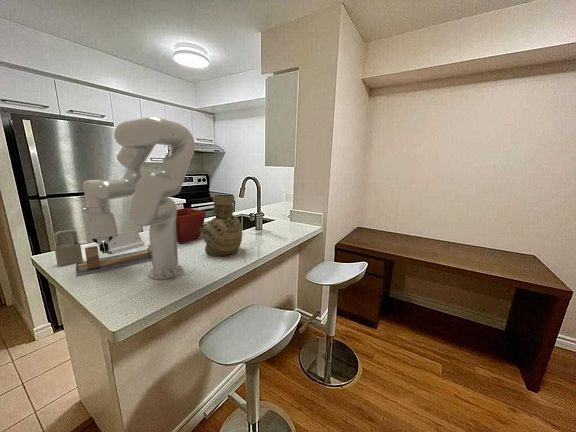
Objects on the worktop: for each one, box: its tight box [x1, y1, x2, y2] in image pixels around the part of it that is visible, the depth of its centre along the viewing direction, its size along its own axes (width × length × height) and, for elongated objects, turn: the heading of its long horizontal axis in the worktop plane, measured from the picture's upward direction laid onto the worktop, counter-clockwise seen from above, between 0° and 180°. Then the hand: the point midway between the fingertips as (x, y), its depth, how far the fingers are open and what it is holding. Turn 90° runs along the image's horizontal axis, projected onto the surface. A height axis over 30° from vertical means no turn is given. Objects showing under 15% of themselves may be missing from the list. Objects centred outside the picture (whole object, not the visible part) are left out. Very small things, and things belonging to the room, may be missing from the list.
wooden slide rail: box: [75, 249, 152, 277], centre depth 109 cm, size 14×32×1 cm, turn 131°
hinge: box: [106, 230, 145, 255], centre depth 126 cm, size 17×5×10 cm, turn 151°
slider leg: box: [84, 245, 100, 269], centre depth 101 cm, size 9×4×8 cm, turn 41°
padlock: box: [53, 229, 84, 267], centre depth 105 cm, size 4×8×15 cm, turn 144°
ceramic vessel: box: [199, 194, 243, 258], centre depth 120 cm, size 19×21×30 cm
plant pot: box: [176, 207, 206, 244], centre depth 142 cm, size 19×19×17 cm
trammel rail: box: [79, 244, 151, 271], centre depth 108 cm, size 9×30×3 cm, turn 131°
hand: (104, 252), depth 102 cm, fingers closed
